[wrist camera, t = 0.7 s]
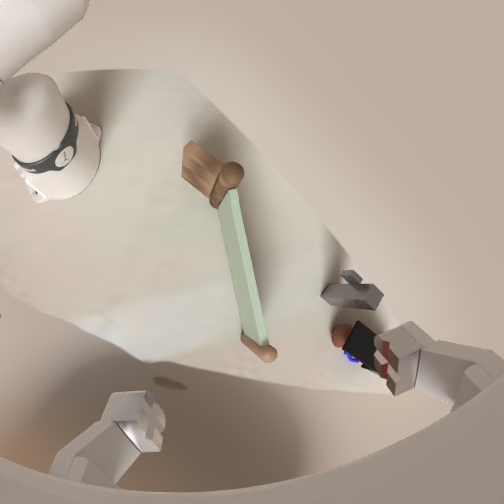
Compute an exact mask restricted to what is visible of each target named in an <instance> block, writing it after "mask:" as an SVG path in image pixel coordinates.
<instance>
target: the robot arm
mask: <svg viewBox="0 0 504 504" xmlns="http://www.w3.org/2000/svg"><path fill="white" fill-rule="evenodd" d="M89 1H90V0H0V146H1V147H3V148H4V149H5V150H7V151H8V152H9V153H10V154H12V157H13V158H14V160H15V161H14V162H13V166H14V168H15V169H16V170H17V171H18V172H19V171H20V172H21V173H20V176H21V177H22V178H23V179H24V180H25V182H26V184H27V186H28V188H29V190H30V192H31V194H32V196H33V198H34V200H35V201H36V202H37V203H43V202H45V201H48V200H51V199H56V200H62V199H67V198H70V197H73V196H75V195H76V194H78V193H80V192H81V191H82V190H83V189H84V188H86V187H87V185H88V184H89V183H90V182H91V180H92V179H93V177H94V176H95V174H96V172H97V169H98V166H99V162H100V149H99V141H100V138H101V135H102V130H101V129H100V127H98V126H96V125H94V124H92V123H90V122H88V121H87V119H86V118H85V117H84V116H82V117H81V116H80V115H77V114H75V113H74V111H73V109H72V108H71V107H70V106H69V104H68V103H66V102H65V101H64V99H63V97H62V95H61V93H60V91H59V89H58V87H57V85H56V83H55V81H54V80H53V79H52V78H51V77H49V76H47V75H44V74H40V73H26V74H23V75H20V76H17V77H14V78H11V77H12V76H13V75H14V74H15V73H16V72H18V71H19V70H20V69H21V68H22V67H23V66H25V65H26V64H27V63H28V62H30V61H31V60H32V59H34V58H35V57H36V56H37V55H39V54H40V53H41V52H43V51H44V50H45V49H47V48H48V47H50V46H51V45H52V44H53V43H55V42H56V41H57V40H58V39H59V38H60V37H61V36H63V34H65V33H66V32H67V31H68V30H69V29H71V28H72V27H73V26H74V25H75V24H76V23H78V22H79V21H80V20H81V19H82V18H83V17H84V15H85V13H86V11H87V8H88V5H89ZM10 78H11V79H10ZM36 192H38V193H37V194H36ZM374 346H375V347H376V348H377V351H376V352H375V354H374V364H375V368H376V370H377V372H378V374H379V376H380V377H381V378H384V379H387V383H386V385H387V387H388V388H389V390H390V391H391V392H392V394H393V395H394V396H397V395H399V394H401V393H404V392H406V391H408V390H410V389H412V388H414V387H415V389H417V390H419V391H422V392H424V393H426V394H429V395H431V396H433V397H436V398H438V399H440V400H443V401H445V402H448V403H450V404H453V407H452V409H451V412H450V414H448V415H446V416H444V417H443V418H441V419H440V420H438V421H436V422H435V423H433V424H432V425H429V426H428V427H426V428H424V429H422V430H420V431H419V432H417V433H415V434H413V435H411V436H409V437H407V438H405V439H403V440H401V441H399V442H397V443H395V444H393V445H390V446H388V447H386V448H384V449H382V450H379V451H377V452H375V453H372V454H370V455H367V456H365V457H362V458H360V459H357V460H354V461H352V462H349V463H346V464H343V465H340V466H337V467H334V468H331V469H328V470H325V471H321V472H318V473H314V474H311V475H307V476H303V477H300V478H295V479H291V480H287V481H282V482H277V483H272V484H267V485H262V486H255V487H248V488H241V489H233V490H223V491H210V492H188V493H164V492H144V491H143V492H142V491H132V490H131V491H130V490H122V489H120V488H119V487H118V486H117V485H116V482H117V481H118V480H119V479H120V478H121V476H122V475H123V474H124V473H125V472H126V470H127V469H128V468H129V467H130V465H131V464H132V463H133V462H134V461H135V459H136V458H137V457H138V455H139V454H140V452H156V451H161V446H162V440H163V437H162V436H161V435H160V433H161V432H162V431H163V430H164V429H165V416H164V413H163V411H162V409H161V407H160V406H159V405H157V404H156V403H154V399H155V397H154V396H153V394H152V393H151V392H150V391H148V390H146V391H130V392H114V393H113V394H111V397H110V399H109V401H108V403H107V406H106V408H105V410H104V413H103V415H102V417H101V420H100V422H95V423H94V424H93V425H92V426H90V427H89V428H88V429H87V430H85V431H84V432H83V433H82V434H80V435H79V436H78V437H76V438H75V439H74V440H73V441H71V442H70V443H69V444H68V445H66V446H65V447H64V448H63V449H61V450H60V451H58V452H57V455H56V457H55V459H54V461H53V464H52V466H51V469H50V471H49V474H45V473H41V472H38V471H35V470H32V469H29V468H26V467H24V466H21V465H18V464H16V463H13V462H10V461H8V460H6V459H3V458H1V457H0V504H504V360H503V359H502V358H501V357H500V356H498V355H497V354H496V353H495V352H493V351H492V350H488V349H482V348H476V347H471V346H466V345H460V344H455V343H450V342H445V341H440V340H439V341H437V342H435V341H434V340H433V339H432V338H431V337H430V336H429V335H428V334H426V333H425V332H424V331H423V330H422V329H421V328H419V327H418V326H417V325H416V324H415V323H414V322H411V321H409V322H407V323H405V324H403V325H400V326H399V327H396V328H394V329H392V330H389V331H387V332H384V333H382V334H379V335H377V336H375V339H374Z"/></svg>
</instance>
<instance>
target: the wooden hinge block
mask: <svg viewBox="0 0 504 504" xmlns="http://www.w3.org/2000/svg"><path fill="white" fill-rule="evenodd" d="M182 177H183V178H184V179H185V180H186V181H188V182H189V183H190V184H191V185H192V186H194V187H195V188H196V189H197V190H199V191H200V192H201V193H202V194H204V195H205V196H206V197H207V198H209V197H210V196H211V197H210V204H211V206H212V207H214V208H216V209H218V207H219V206H220V204H221V202H222V200H223V199H224V197H225V195H226V194H227V192H228V190H232V189H236V188H237V186H238V185H239V183H240V182H241V180H242V179H243V177H244V169H243V167H242V166H241V165H240V164H238V163H236V162H229V163H227V164H225V165H223V164H221V163H220V162H219V161H218V160H216V159H215V158H214V157H213V156H211V155H210V154H209V153H208V152H206V151H205V150H204V149H202V148H201V147H200V146H199V145H197V144H196V143H195V142H193V141H192V140H191V141H190V142H189V143H188V144H187V145H186V146H185V147H184V151H183V164H182Z"/></svg>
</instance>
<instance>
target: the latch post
mask: <svg viewBox="0 0 504 504" xmlns="http://www.w3.org/2000/svg"><path fill="white" fill-rule="evenodd" d="M341 276H342V277H343V278H344V279H345V280H346V281H347V282H348V283H349V284H328V286H327V287H326V289H325V290H324V292H323V293H322V295H321V297H322V298H323V299H324V300H325V301H327V302H328V303H329V304H330V305H335V306H342V307H350V308H358V309H367V310H376V308H377V307H378V305H379V303H380V301H381V299H382V297H383V296H384V294H383V293H382V292H381V291H380V290H379V289H378V288H377V287H376V286H375V285H374V284H360V283H361V281H362V280H363V279H362V278H361V277H360V276H359V275H358V274H357V273H356V272H355V271H354V270H346V271H343V272H342V274H341Z"/></svg>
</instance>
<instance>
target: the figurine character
mask: <svg viewBox="0 0 504 504" xmlns="http://www.w3.org/2000/svg"><path fill="white" fill-rule="evenodd" d="M375 336H377V335H376V334H375V333H373V332H372V331H371V330H370V329H369V328H367V327H366V326H365V325H364V324H362V323H361V322H360V321H357V322H356V324H355V325H354V327H352V326H350V325H348V324H341V325H339V326H337V327H336V328H335V329H334V331H333V332H332V337H331V338H332V343H333V344H334V346H335V347H337V348H339V349H342V350H344V354H345V355H347V356H348V358H349V360H350V361H353V362H357V363H358V364H361V363H363V364H362V366H361V367H362V368H365V369H368V370H369V371H371V372H373V373H375V374H378V372H377V370H376V368H375V364H374V354H375V352H376V351H377V348H376V347H375V346H374V339H375ZM351 356H353V357H354V358H355V359H354V358H352V357H351ZM378 375H379V374H378Z"/></svg>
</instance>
